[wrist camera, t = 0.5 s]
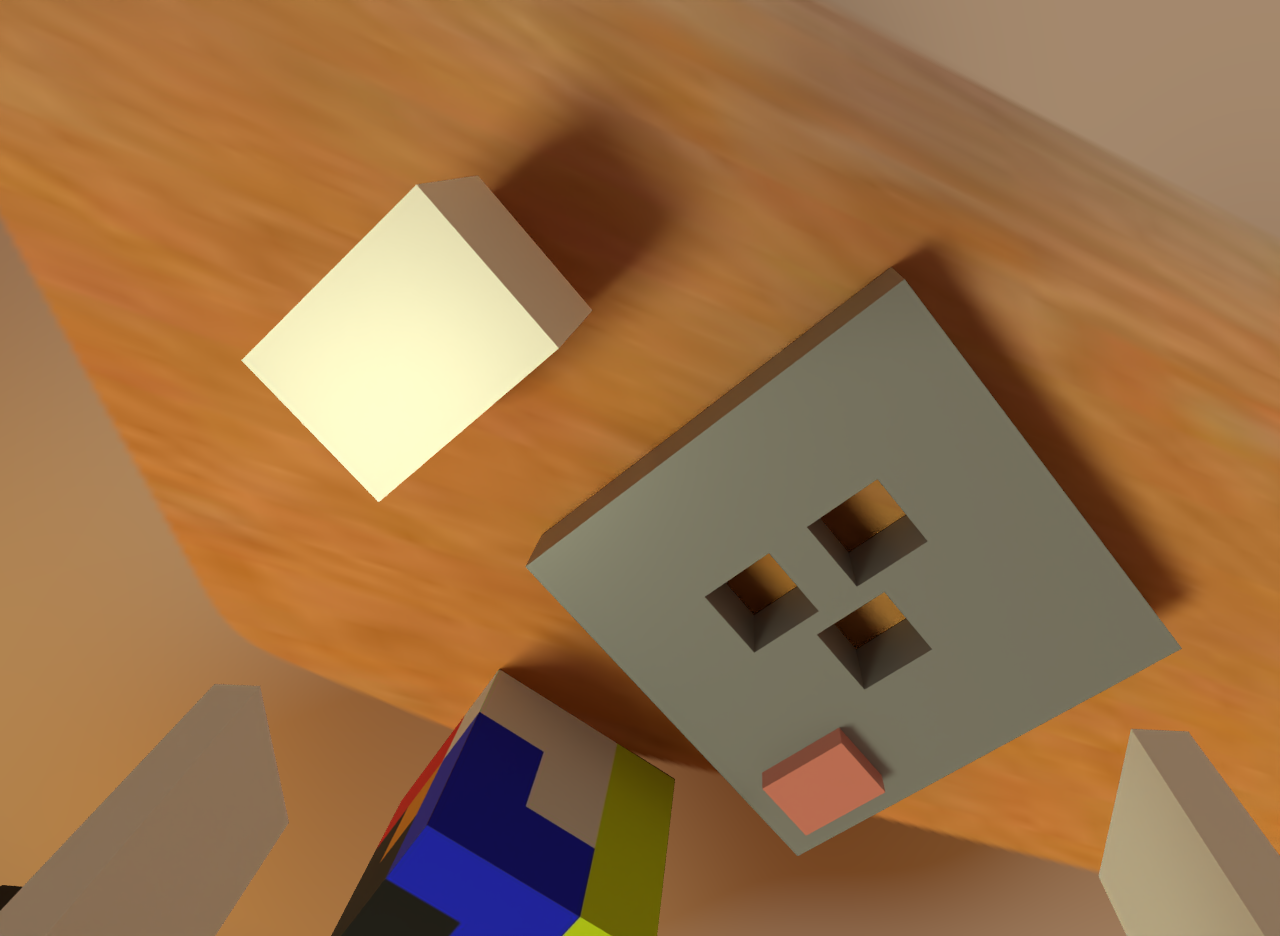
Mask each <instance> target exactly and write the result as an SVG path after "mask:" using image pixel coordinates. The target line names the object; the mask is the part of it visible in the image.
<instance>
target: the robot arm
mask: <svg viewBox="0 0 1280 936" xmlns="http://www.w3.org/2000/svg"><path fill="white" fill-rule="evenodd" d="M288 823H289V822H288V816H287V811H286V807H285V802H284V797H283V793H282V788H281V783H280V778H279V774H278V769H277V764H276V760H275V755H274V750H273V745H272V741H271V736H270V731H269V726H268V722H267V717H266V713H265V707H264V703H263V699H262V693H261V689H260V686H246V685H225V684H214V685H213V686H212V687H211V689H210V690H208V692H207V693H206V694H205V695H204V696H203V697H202V698H201V699H200V700H199V701H198V702H197V703H196V704H195V705H194V706H193V708H192V709H191V710H190V711H189V712H188V713H187V714H186V715H185V716H184V717H183V718H182V719H181V720H180V721H179V722H178V723H177V724H176V725H175V727H173V729H172V730H171V731H170V732H169V733H168V734H167V735H166V736H165V737H164V738H163V739H162V740H161V741H160V742H159V743H158V745H156V747H155V748H154V749H153V750H152V751H151V752H150V753H149V754H148V755H147V756H146V757H145V758H144V759H143V760H142V761H141V763H139V765H138V766H137V767H136V768H135V769H134V770H133V771H132V772H131V773H130V774H129V775H128V776H127V777H126V778H125V779H124V781H122V783H121V784H120V785H119V786H118V787H117V788H116V789H115V790H114V791H113V792H112V793H111V794H110V795H109V796H108V797H107V798H106V799H105V801H104V802H103V803H102V804H101V805H100V806H99V807H98V808H97V809H96V810H95V811H94V812H93V813H92V814H91V815H90V817H88V819H87V820H86V821H85V822H84V823H83V824H82V825H81V826H80V827H79V828H78V829H77V830H76V831H75V832H74V833H73V834H72V836H70V838H69V839H68V840H67V841H66V842H65V843H64V844H63V845H62V846H61V847H60V848H59V849H58V850H57V851H56V852H55V853H54V854H53V856H52V857H51V858H50V859H49V860H48V861H47V862H46V863H45V864H44V865H43V866H42V867H41V868H40V870H38V872H36V874H35V875H34V876H33V877H32V878H31V879H30V880H29V881H28V882H27V883H26V884H25V885H24V886H23V887H18V886H7V885H2V886H0V936H215V935H216V934H217V932H218V931H219V929H220V928H221V926H222V924H223V923H224V921H225V920H226V918H227V917H228V915H229V914H230V912H231V911H232V909H233V908H234V906H235V904H236V903H237V901H238V900H239V898H240V897H241V895H242V894H243V892H244V891H245V889H246V887H247V886H248V884H249V883H250V881H251V880H252V878H253V877H254V875H255V874H256V872H257V871H258V869H259V868H260V866H261V865H262V863H263V861H264V860H265V858H266V857H267V855H268V854H269V852H270V851H271V849H272V848H273V846H274V845H275V843H276V841H277V840H278V838H279V837H280V835H281V834H282V832H283V831H284V829H285V828H286V826H287V824H288ZM1099 878H1100V880H1101V882H1102V884H1103V887H1104V888H1105V891H1106V893H1107V895H1108V897H1109V899H1110V901H1111V903H1112V905H1113V908H1114V910H1115V912H1116V914H1117V916H1118V918H1119V920H1120V922H1121V924H1122V927H1123V928H1124V931H1125V933H1126V935H1127V936H1280V856H1279V854H1278V853H1277V852H1276V850H1275V849H1274V848H1273V846H1272V845H1271V844H1270V842H1269V841H1268V839H1267V838H1266V837H1265V835H1264V834H1263V833H1262V831H1261V830H1260V829H1259V827H1258V826H1257V825H1256V823H1255V822H1254V820H1253V819H1252V818H1251V816H1250V815H1249V814H1248V812H1247V811H1246V810H1245V808H1244V807H1243V805H1242V804H1241V803H1240V801H1239V800H1238V799H1237V797H1236V796H1235V795H1234V793H1233V792H1232V791H1231V789H1230V788H1229V786H1228V785H1227V784H1226V782H1225V781H1224V780H1223V778H1222V777H1221V776H1220V774H1219V773H1218V772H1217V770H1216V769H1215V767H1214V766H1213V765H1212V763H1211V762H1210V761H1209V759H1208V758H1207V757H1206V755H1205V754H1204V752H1203V751H1202V750H1201V748H1200V747H1199V746H1198V744H1197V743H1196V742H1195V740H1194V739H1193V738H1192V736H1191V735H1190V733H1189V732H1184V731H1164V730H1143V729H1131V732H1130V737H1129V741H1128V746H1127V750H1126V755H1125V759H1124V764H1123V768H1122V773H1121V777H1120V782H1119V787H1118V791H1117V796H1116V800H1115V805H1114V809H1113V814H1112V818H1111V823H1110V827H1109V832H1108V836H1107V841H1106V846H1105V850H1104V855H1103V859H1102V864H1101V868H1100V873H1099Z"/></svg>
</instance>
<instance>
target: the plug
mask: <svg viewBox="0 0 1280 936" xmlns="http://www.w3.org/2000/svg"><path fill="white" fill-rule="evenodd" d="M591 312H592V309H591V308H590V307H589V306H588V304H587V303H586V302H585V301H584V300H583V299H582V297H581V296H580V295H579V294H578V293H577V292H576V290H575V289H574V288H573V287H572V286H571V284H570V283H569V282H568V281H567V280H566V279H565V277H564V276H563V275H562V274H561V273H560V272H559V270H558V269H557V268H556V267H555V266H554V264H553V263H552V262H551V261H550V260H549V259H548V257H547V256H546V255H545V254H544V253H543V252H542V250H541V249H540V248H539V247H538V246H537V244H536V243H535V242H534V241H533V240H532V239H531V237H530V236H529V235H528V234H527V233H526V232H525V230H524V229H523V228H522V227H521V226H520V224H519V223H518V222H517V221H516V220H515V219H514V217H513V216H512V215H511V214H510V213H509V212H508V210H507V209H506V208H505V207H504V206H503V204H502V203H501V202H500V201H499V200H498V199H497V197H496V196H495V195H494V194H493V193H492V191H491V190H490V189H489V188H488V187H487V186H486V184H485V183H484V182H483V181H482V180H481V179H480V177H479V176H471V177H465V178H458V179H451V180H444V181H438V182H431V183H424V184H418V185H416V186H415V187H414V188H413V189H412V190H411V191H410V192H409V193H408V194H407V195H406V196H405V197H404V198H403V199H402V200H401V201H400V202H399V203H398V204H397V205H396V206H395V207H394V208H393V209H392V210H391V211H390V212H389V213H388V214H387V215H386V216H385V217H384V218H383V219H382V220H381V221H380V222H379V223H378V224H377V225H376V226H375V227H374V228H373V229H372V230H371V231H370V232H369V233H368V234H367V235H366V236H365V237H364V238H363V239H362V240H361V241H360V242H359V243H358V244H357V245H356V246H355V247H354V248H353V249H352V250H351V251H350V252H349V253H348V254H347V255H346V256H345V257H344V258H343V259H342V260H341V261H340V262H339V263H338V264H337V265H336V266H335V267H334V268H333V269H332V270H331V271H330V272H329V273H328V274H327V275H326V276H325V277H324V278H323V279H322V280H321V281H320V282H319V283H318V284H317V285H316V286H315V287H314V288H313V289H312V290H311V291H310V292H309V293H308V294H307V295H306V296H305V297H304V298H303V299H302V300H301V301H300V302H299V303H298V304H297V305H296V306H295V307H294V308H293V309H292V310H291V311H290V312H289V313H288V314H287V315H286V316H285V317H284V318H283V319H282V320H281V321H280V322H279V323H278V324H277V325H276V326H275V327H274V328H273V329H272V330H271V331H270V332H269V333H268V334H267V335H266V336H265V337H264V338H263V339H262V340H261V341H260V342H259V343H258V344H257V345H256V346H255V347H254V348H253V349H252V350H251V351H250V352H249V353H248V354H247V355H246V356H245V357H244V358H243V359H242V361H243V362H244V363H245V364H246V365H247V366H248V368H249V369H250V370H251V371H252V372H253V373H254V374H255V375H256V376H257V377H258V378H259V379H260V380H261V381H262V382H263V383H264V384H265V385H266V386H267V387H268V388H269V389H270V390H271V391H272V392H273V393H274V394H275V395H276V396H277V397H278V399H279V400H280V401H281V402H282V403H283V404H284V405H285V406H286V407H287V408H288V409H289V410H290V411H291V412H292V413H293V414H294V415H295V416H296V417H297V418H298V419H299V420H300V421H301V422H302V423H303V424H304V425H305V426H306V427H307V428H308V430H309V431H310V432H311V433H312V434H313V435H314V436H315V437H316V438H317V439H318V440H319V441H320V442H321V443H322V444H323V445H324V446H325V447H326V448H327V449H328V450H329V451H330V452H331V453H332V454H333V455H334V456H335V457H336V458H337V459H338V461H339V462H340V463H341V464H342V465H343V466H344V467H345V468H346V469H347V470H348V471H349V472H350V473H351V474H352V475H353V476H354V477H355V478H356V479H357V480H358V481H359V482H360V483H361V484H362V485H363V486H364V487H365V488H366V489H367V490H368V492H369V493H370V494H371V495H372V496H373V497H374V498H375V499H376V500H377V501H378V502H379V501H381V500H382V499H383V498H384V497H385V496H386V495H388V494H389V493H390V492H391V491H392V490H393V489H395V488H396V487H397V486H398V485H399V484H400V483H402V482H403V481H404V480H405V479H406V478H407V477H409V476H410V475H411V474H412V473H413V472H415V471H416V470H417V469H418V468H419V467H420V466H422V465H423V464H424V463H425V462H426V461H427V460H429V459H430V458H431V457H432V456H433V455H434V454H436V453H437V452H438V451H439V450H440V449H441V448H443V447H444V446H445V445H446V444H447V443H448V442H450V441H451V440H452V439H453V438H454V437H456V436H457V435H458V434H459V433H460V432H461V431H463V430H464V429H465V428H466V427H467V426H468V425H470V424H471V423H472V422H473V421H474V420H475V419H477V418H478V417H479V416H480V415H481V414H482V413H484V412H485V411H486V410H487V409H488V408H490V407H491V406H492V405H493V404H494V403H495V402H497V401H498V400H499V399H500V398H501V397H502V396H504V395H505V394H506V393H507V392H508V391H509V390H511V389H512V388H513V387H514V386H515V385H516V384H518V383H519V382H520V381H521V380H522V379H523V378H525V377H526V376H527V375H528V374H529V373H531V372H532V371H533V370H534V369H535V368H536V367H538V366H539V365H540V364H541V363H542V362H543V361H545V360H546V359H547V358H548V357H549V356H550V355H552V354H553V353H554V352H555V351H556V350H557V349H559V348H560V346H561V345H562V344H563V343H564V342H565V341H566V340H567V339H568V337H569V336H570V335H571V334H572V333H573V332H574V331H575V330H576V328H577V327H578V326H579V325H580V324H581V323H582V322H583V321H584V319H585V318H586V317H587V316H588V315H589V314H590V313H591Z"/></svg>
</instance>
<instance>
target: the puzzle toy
mask: <svg viewBox="0 0 1280 936" xmlns="http://www.w3.org/2000/svg"><path fill="white" fill-rule="evenodd" d="M674 783H675V779H674V778H673V777H671V776H669V775H668V774H667V773H665V772H663V771H662V770H660V769H659V768H657V767H655V766H654V765H652V764H651V763H649V762H647V761H646V760H644V759H643V758H641V757H640V756H638V755H635V754H633V753H632V752H630V751H628V750H627V749H625V748H624V747H622V746H621V745H619V744H617V743H616V742H614V741H613V740H611V739H609V738H608V737H606V736H605V735H603V734H601V733H600V732H598V731H597V730H595V729H594V728H592V727H590V726H589V725H587V724H586V723H584V722H582V721H581V720H579V719H578V718H576V717H575V716H573V715H571V714H570V713H568V712H567V711H565V710H563V709H562V708H560V707H559V706H557V705H555V704H554V703H552V702H551V701H549V700H548V699H546V698H544V697H543V696H541V695H540V694H538V693H536V692H535V691H533V690H532V689H530V688H528V687H527V686H525V685H524V684H522V683H521V682H519V681H517V680H516V679H514V678H513V677H511V676H509V675H508V674H506V673H505V672H503V671H502V670H500V669H499V670H498V672H497V673H496V674H495V676H494V677H493V678H492V680H491V681H490V682H489V684H488V685H487V686H486V688H485V689H484V690H483V692H482V693H481V694H480V696H479V697H478V699H477V700H476V701H475V703H474V704H473V705H472V707H471V708H470V709H469V711H468V712H467V713H466V715H465V716H464V717H463V719H462V720H461V721H460V723H459V724H458V726H457V727H456V728H455V730H454V731H453V732H452V733H451V735H450V736H449V738H448V739H447V740H446V741H445V743H444V744H443V745H442V747H441V748H440V750H439V751H438V752H437V754H436V755H435V756H434V758H433V759H432V760H431V762H430V763H429V764H428V766H427V767H426V768H425V770H424V771H423V772H422V774H421V775H420V776H419V778H418V779H417V781H416V782H415V783H414V785H413V786H412V787H411V789H410V790H409V791H408V793H407V794H406V795H405V797H404V798H403V800H402V801H401V803H400V805H399V807H398V809H397V811H396V813H395V814H394V817H393V818H392V820H391V822H390V824H389V826H388V828H387V830H386V832H385V834H384V835H383V837H382V839H381V841H380V843H379V845H378V847H377V849H376V851H375V853H374V855H373V857H372V859H371V861H370V862H369V864H368V866H367V868H366V870H365V872H364V874H363V876H362V878H361V880H360V882H359V884H358V885H357V887H356V889H355V891H354V893H353V895H352V897H351V899H350V901H349V903H348V905H347V906H346V908H345V910H344V912H343V914H342V916H341V918H340V920H339V922H338V924H337V926H336V928H335V930H334V932H333V933H332V935H331V936H657V932H658V931H657V930H658V923H659V914H660V905H661V897H662V888H663V878H664V870H665V861H666V853H667V844H668V835H669V827H670V818H671V809H672V801H673V792H674Z"/></svg>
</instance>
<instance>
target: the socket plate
mask: <svg viewBox="0 0 1280 936" xmlns="http://www.w3.org/2000/svg"><path fill="white" fill-rule="evenodd" d="M877 479H878V480H879V481H880V483H881V484H882V485H883V486H884V488H885V489H886V490H887V491H888V493H889V494H890V495H891V496H892V498H893V499H894V500H895V501H896V503H897V504H898V505H899V506H900V507H901V509H902V510H903V511H904V512H905V514H906V515H905V516H904V517H902V518H900V519H899V520H897V521H896V522H894V523H893V524H891V525H890V526H888V527H887V528H885V529H884V530H882V531H881V532H879V533H878V534H876V535H875V536H873V537H872V538H870V539H869V540H867V541H866V542H864V543H863V544H861V545H860V546H858V547H856V548H855V549H853V550H852V551H850V552H848V551H847V550H846V549H845V547H844V546H843V545H842V544H841V543H840V541H839V540H838V539H837V538H836V537H835V535H834V534H833V533H832V532H831V531H830V529H829V528H828V527H827V526H826V525H825V523H824V522H823V521H822V520H821V519H820V518H821V517H822V516H824V515H825V514H827V513H828V512H830V511H831V510H833V509H834V508H836V507H837V506H839V505H840V504H841V503H843V502H844V501H846V500H847V499H849V498H850V497H852V496H853V495H855V494H856V493H858V492H859V491H861V490H862V489H863V488H865V487H866V486H868V485H869V484H871V483H872V482H874V481H875V480H877ZM768 553H769V554H770V555H771V556H772V557H773V558H774V559H775V561H776V562H777V563H778V564H779V565H780V566H781V568H782V569H783V570H784V571H785V572H786V573H787V575H788V576H789V577H790V578H791V579H792V580H793V582H794V583H795V584H796V585H797V587H796V588H794V589H793V590H791V591H790V592H788V593H787V594H785V595H784V596H782V597H781V598H779V599H778V600H776V601H775V602H773V603H772V604H770V605H768V606H767V607H765V608H764V609H762V610H761V611H759V612H758V613H756V614H755V615H753V613H752V612H751V611H750V610H749V609H748V608H747V607H746V606H745V604H744V603H743V602H742V601H741V600H740V599H739V598H738V596H737V595H736V594H735V593H734V592H733V591H732V590H731V589H730V587H729V586H728V585H727V584H726V582H727V581H729V580H730V579H732V578H733V577H734V576H736V575H737V574H739V573H740V572H742V571H743V570H745V569H746V568H748V567H749V566H751V565H752V564H754V563H755V562H756V561H758V560H759V559H761V558H762V557H764V556H765V555H767V554H768ZM526 568H527V569H528V570H529V571H530V572H531V573H532V574H533V575H534V576H535V577H536V578H537V579H538V580H539V582H540V583H541V584H542V585H543V586H544V587H545V588H546V589H547V590H548V591H549V592H550V593H551V594H552V595H553V596H554V597H555V599H556V600H557V601H558V602H559V603H560V604H561V605H562V606H563V607H564V608H565V609H566V610H567V611H568V612H569V613H570V615H571V616H572V617H573V618H574V619H575V620H576V621H577V622H578V623H579V624H580V625H581V626H582V627H583V628H584V629H585V630H586V632H587V633H588V634H589V635H590V636H591V637H592V638H593V639H594V640H595V641H596V642H597V643H598V644H599V645H600V646H601V647H602V649H603V650H604V651H605V652H606V653H607V654H608V655H609V656H610V657H611V658H612V659H613V660H614V661H615V662H616V663H617V664H618V666H619V667H620V668H621V669H622V670H623V671H624V672H625V673H626V674H627V675H628V676H629V677H630V678H631V679H632V680H633V681H634V683H635V684H636V685H637V686H638V687H639V688H640V689H641V690H642V691H643V692H644V693H645V694H646V695H647V696H648V697H649V698H650V700H651V701H652V702H653V703H654V704H655V705H656V706H657V707H658V708H659V709H660V710H661V711H662V712H663V713H664V714H665V715H666V717H667V718H668V719H669V720H670V721H671V722H672V723H673V724H674V725H675V726H676V727H677V728H678V729H679V730H680V731H681V732H682V734H683V735H684V736H685V737H686V738H687V739H688V740H689V741H690V742H691V743H692V744H693V745H694V746H695V747H696V748H697V749H698V751H699V752H700V753H701V754H702V755H703V756H704V757H705V758H706V759H707V760H708V761H709V762H710V763H711V764H712V765H713V767H714V768H715V769H716V770H717V771H718V772H719V773H720V774H721V775H722V776H723V777H724V778H725V779H726V780H727V781H728V782H729V784H730V785H731V786H733V788H734V789H735V790H736V791H737V792H738V793H739V794H740V795H741V796H742V797H743V798H744V799H745V801H746V802H747V803H748V804H749V805H750V806H751V807H752V808H753V809H754V810H755V811H756V812H757V813H758V814H759V815H760V816H761V818H762V819H764V821H765V822H766V823H767V824H768V825H769V826H770V827H771V828H772V829H773V830H774V831H775V832H776V833H777V835H779V837H780V838H781V839H782V840H783V841H784V842H785V843H786V844H787V845H788V846H789V847H790V848H791V849H792V850H793V852H795V854H796V855H797V856H798V855H801V854H802V853H804V852H806V851H808V850H810V849H812V848H813V847H815V846H817V845H819V844H821V843H823V842H825V841H826V840H828V839H830V838H832V837H834V836H835V835H838V834H839V833H841V832H843V831H845V830H847V829H849V828H850V827H852V826H854V825H856V824H858V823H859V822H862V821H863V820H865V819H867V818H869V817H871V816H873V815H875V814H876V813H878V812H880V811H882V810H884V809H886V808H887V807H889V806H891V805H893V804H895V803H897V802H899V801H900V800H902V799H904V798H906V797H908V796H910V795H912V794H913V793H915V792H917V791H919V790H921V789H923V788H924V787H926V786H928V785H930V784H932V783H934V782H936V781H937V780H939V779H941V778H943V777H945V776H947V775H949V774H950V773H952V772H954V771H956V770H958V769H960V768H961V767H963V766H965V765H967V764H969V763H971V762H973V761H974V760H976V759H978V758H980V757H982V756H984V755H986V754H987V753H989V752H991V751H993V750H995V749H997V748H998V747H1000V746H1002V745H1004V744H1006V743H1008V742H1010V741H1011V740H1013V739H1015V738H1017V737H1019V736H1021V735H1023V734H1024V733H1026V732H1028V731H1030V730H1032V729H1034V728H1036V727H1037V726H1039V725H1041V724H1043V723H1045V722H1047V721H1048V720H1050V719H1052V718H1054V717H1056V716H1058V715H1060V714H1061V713H1063V712H1065V711H1067V710H1069V709H1071V708H1073V707H1074V706H1076V705H1078V704H1080V703H1082V702H1084V701H1085V700H1087V699H1089V698H1091V697H1093V696H1095V695H1097V694H1098V693H1100V692H1102V691H1104V690H1106V689H1108V688H1110V687H1111V686H1113V685H1115V684H1117V683H1119V682H1121V681H1122V680H1124V679H1126V678H1128V677H1130V676H1132V675H1134V674H1135V673H1137V672H1139V671H1141V670H1143V669H1145V668H1147V667H1148V666H1150V665H1152V664H1154V663H1156V662H1158V661H1159V660H1161V659H1163V658H1165V657H1167V656H1169V655H1171V654H1172V653H1174V652H1176V651H1178V650H1180V649H1182V648H1181V647H1180V645H1179V644H1178V643H1177V641H1176V640H1175V639H1174V637H1173V636H1172V635H1171V633H1170V632H1169V631H1168V629H1167V628H1166V627H1165V625H1164V624H1163V623H1162V621H1161V620H1160V619H1159V617H1158V616H1157V615H1156V613H1155V612H1154V611H1153V609H1152V608H1151V607H1150V605H1149V604H1148V603H1147V601H1146V600H1145V599H1144V597H1143V596H1142V595H1141V593H1140V592H1139V591H1138V589H1137V588H1136V587H1135V586H1134V584H1133V583H1132V582H1131V580H1130V579H1129V578H1128V576H1127V575H1126V574H1125V572H1124V571H1123V570H1122V568H1121V567H1120V566H1119V564H1118V563H1117V562H1116V560H1115V559H1114V558H1113V556H1112V555H1111V554H1110V552H1109V551H1108V550H1107V548H1106V547H1105V546H1104V544H1103V543H1102V542H1101V540H1100V539H1099V538H1098V536H1097V535H1096V534H1095V532H1094V531H1093V530H1092V528H1091V527H1090V526H1089V524H1088V523H1087V522H1086V520H1085V519H1084V518H1083V516H1082V515H1081V514H1080V512H1079V511H1078V510H1077V508H1076V507H1075V506H1074V504H1073V503H1072V502H1071V500H1070V499H1069V498H1068V496H1067V495H1066V494H1065V492H1064V491H1063V490H1062V488H1061V487H1060V486H1059V484H1058V483H1057V482H1056V480H1055V479H1054V478H1053V476H1052V475H1051V474H1050V472H1049V471H1048V470H1047V468H1046V467H1045V466H1044V464H1043V463H1042V462H1041V460H1040V459H1039V458H1038V456H1037V455H1036V454H1035V452H1034V451H1033V450H1032V448H1031V447H1030V446H1029V444H1028V443H1027V442H1026V440H1025V439H1024V438H1023V436H1022V435H1021V434H1020V432H1019V431H1018V430H1017V428H1016V427H1015V426H1014V424H1013V423H1012V422H1011V420H1010V419H1009V418H1008V416H1007V415H1006V414H1005V412H1004V411H1003V410H1002V408H1001V407H1000V406H999V404H998V403H997V402H996V400H995V399H994V398H993V396H992V395H991V394H990V392H989V391H988V390H987V388H986V387H985V386H984V384H983V383H982V382H981V380H980V379H979V378H978V376H977V375H976V374H975V372H974V371H973V370H972V368H971V367H970V366H969V364H968V363H967V362H966V360H965V359H964V358H963V356H962V355H961V354H960V352H959V351H958V350H957V348H956V347H955V346H954V344H953V343H952V342H951V340H950V339H949V338H948V336H947V335H946V334H945V332H944V331H943V330H942V328H941V327H940V326H939V324H938V323H937V322H936V320H935V319H934V318H933V316H932V315H931V314H930V312H929V311H928V310H927V308H926V307H925V306H924V304H923V303H922V302H921V300H920V299H919V298H918V296H917V295H916V294H915V292H914V291H913V290H912V288H911V287H910V286H909V284H908V283H907V282H906V280H905V279H904V278H903V277H902V276H901V275H900V274H898V273H897V272H896V271H895V270H894V269H893V268H892V267H890V268H889V269H888V270H886V271H885V272H884V273H882V274H881V275H880V276H879V277H877V278H876V279H875V280H873V281H872V282H871V283H869V284H868V285H867V286H866V287H864V288H863V289H862V290H860V291H859V292H858V293H856V294H855V295H854V296H853V297H851V298H850V299H849V300H847V301H846V302H845V303H843V304H842V305H841V306H840V307H838V308H837V309H836V310H834V311H833V312H832V313H830V314H829V315H828V316H826V317H825V318H824V319H823V320H821V321H820V322H819V323H817V324H816V325H815V326H813V327H812V328H811V329H810V330H808V331H807V332H806V333H804V334H803V335H802V336H800V337H799V338H798V339H797V340H795V341H794V342H793V343H791V344H790V345H789V346H787V347H786V348H785V349H784V350H782V351H781V352H780V353H778V354H777V355H776V356H774V357H773V358H772V359H771V360H769V361H768V362H767V363H765V364H764V365H763V366H761V367H760V368H759V369H757V370H756V371H755V372H754V373H752V374H751V375H750V376H748V377H747V378H746V379H744V380H743V381H742V382H741V383H739V384H738V385H737V386H735V387H734V388H733V389H731V390H730V391H729V392H728V393H726V394H725V395H724V396H722V397H721V398H720V399H718V400H717V401H716V402H715V403H713V404H712V405H711V406H709V407H708V408H707V409H705V410H704V411H703V412H701V413H700V414H699V415H698V416H696V417H695V418H694V419H692V420H691V421H690V422H688V423H687V424H686V425H685V426H683V427H682V428H681V429H679V430H678V431H677V432H675V433H674V434H673V435H672V436H670V437H669V438H668V439H666V440H665V441H664V442H662V443H661V444H660V445H659V446H657V447H656V448H655V449H653V450H652V451H651V452H649V453H648V454H647V455H645V456H644V457H643V458H642V459H640V460H639V461H638V462H636V463H635V464H634V465H632V466H631V467H630V468H629V469H627V470H626V471H625V472H623V473H622V474H621V475H619V476H618V477H617V478H616V479H614V480H613V481H612V482H610V483H609V484H608V485H606V486H605V487H604V488H603V489H601V490H600V491H599V492H597V493H596V494H595V495H593V496H592V497H591V498H590V499H588V500H587V501H586V502H584V503H583V504H582V505H580V506H579V507H578V508H576V509H575V510H574V511H573V512H571V513H570V514H569V515H567V516H566V517H565V518H563V519H562V520H561V521H560V522H558V523H557V524H556V525H554V526H553V527H552V528H550V529H549V530H548V531H547V532H545V533H544V534H543V535H542V536H541V538H540V540H539V542H538V543H537V545H536V547H535V549H534V551H533V553H532V555H531V557H530V559H529V561H528V563H527V565H526ZM883 592H885V593H886V594H887V596H888V597H889V598H890V599H891V600H892V602H893V603H894V604H895V605H896V606H897V608H898V609H899V610H900V611H901V612H902V614H903V615H904V616H905V617H906V619H905V620H903V621H901V622H900V623H898V624H897V625H895V626H893V627H892V628H890V629H888V630H887V631H885V632H884V633H882V634H880V635H879V636H877V637H875V638H874V639H872V640H871V641H869V642H867V643H866V644H864V645H862V646H861V647H859V648H858V649H855V648H854V646H853V645H852V644H851V643H850V642H849V641H848V639H847V638H846V637H845V636H844V635H843V634H842V632H841V631H840V630H839V629H838V628H837V627H836V625H835V624H834V623H836V622H838V621H839V620H841V619H842V618H844V617H845V616H847V615H849V614H850V613H852V612H853V611H855V610H856V609H858V608H860V607H861V606H863V605H864V604H866V603H868V602H869V601H871V600H872V599H874V598H875V597H877V596H879V595H880V594H882V593H883Z"/></svg>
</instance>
